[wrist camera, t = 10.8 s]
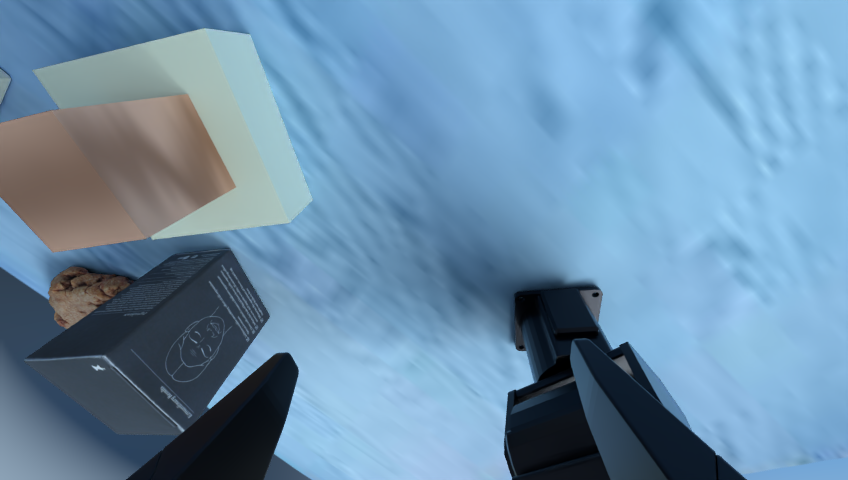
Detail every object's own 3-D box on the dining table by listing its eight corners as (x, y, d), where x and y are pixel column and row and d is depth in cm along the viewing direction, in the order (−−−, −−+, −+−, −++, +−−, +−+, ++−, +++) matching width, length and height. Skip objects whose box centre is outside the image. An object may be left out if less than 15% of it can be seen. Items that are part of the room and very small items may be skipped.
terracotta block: (236, 187, 18) (146, 239, 12) (164, 199, 18) (52, 252, 13) (187, 93, 15) (50, 110, 10) (107, 112, 16) (-56, 136, 11)
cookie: (199, 327, 30) (176, 352, 28) (126, 345, 33) (99, 370, 30) (120, 247, 26) (83, 267, 23) (43, 275, 28) (2, 296, 26)
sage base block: (314, 197, 22) (289, 222, 19) (196, 213, 24) (152, 239, 20) (254, 34, 17) (204, 28, 14) (109, 68, 19) (32, 70, 15)
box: (173, 253, 25) (15, 360, 16) (232, 246, 24) (101, 356, 15) (219, 321, 29) (114, 438, 20) (272, 317, 28) (187, 438, 19)
